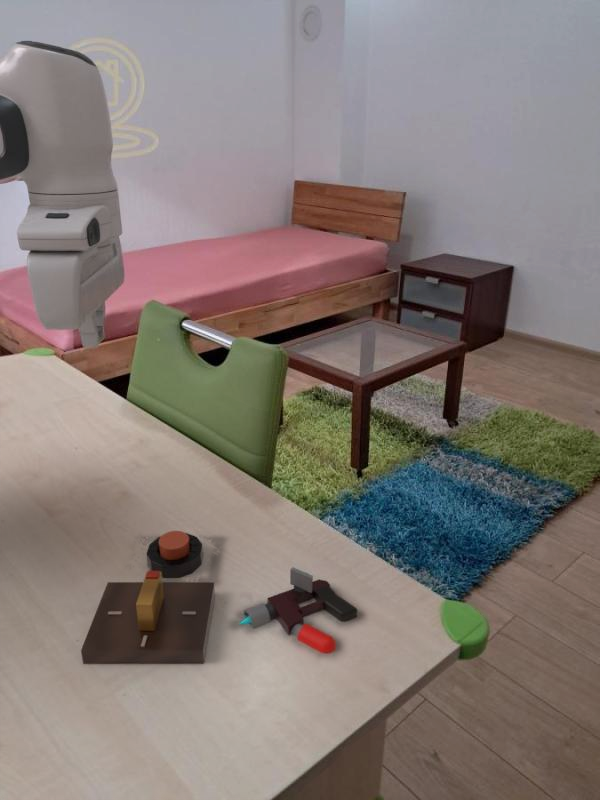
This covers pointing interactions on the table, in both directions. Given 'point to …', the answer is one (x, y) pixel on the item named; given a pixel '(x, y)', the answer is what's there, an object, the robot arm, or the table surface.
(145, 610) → the lock turn
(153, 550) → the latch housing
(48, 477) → the table surface
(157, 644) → the plate
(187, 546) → the button
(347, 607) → the toy gun
